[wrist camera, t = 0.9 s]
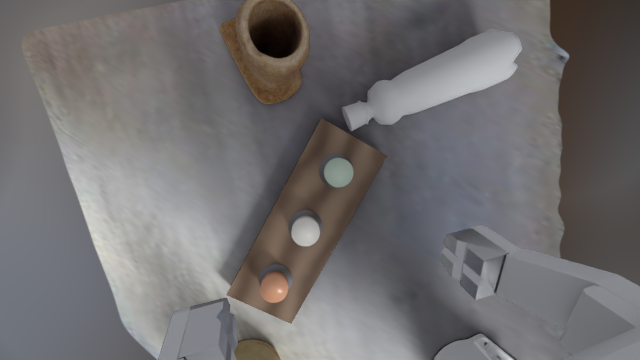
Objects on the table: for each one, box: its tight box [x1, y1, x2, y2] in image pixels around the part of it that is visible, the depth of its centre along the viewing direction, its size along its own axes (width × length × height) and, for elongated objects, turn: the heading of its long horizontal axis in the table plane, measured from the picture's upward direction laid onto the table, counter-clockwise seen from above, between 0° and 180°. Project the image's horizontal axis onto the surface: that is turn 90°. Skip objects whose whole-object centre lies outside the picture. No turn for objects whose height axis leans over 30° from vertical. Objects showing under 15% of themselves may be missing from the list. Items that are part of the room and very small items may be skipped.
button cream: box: [291, 216, 320, 246], centre depth 44 cm, size 5×5×2 cm
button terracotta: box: [260, 271, 288, 303], centre depth 45 cm, size 5×5×2 cm
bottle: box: [342, 28, 522, 131], centre depth 44 cm, size 9×9×30 cm
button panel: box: [227, 118, 387, 323], centre depth 48 cm, size 14×38×3 cm, turn 151°
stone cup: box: [220, 0, 310, 104], centre depth 38 cm, size 15×12×15 cm
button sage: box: [324, 158, 353, 187], centre depth 43 cm, size 5×5×2 cm
